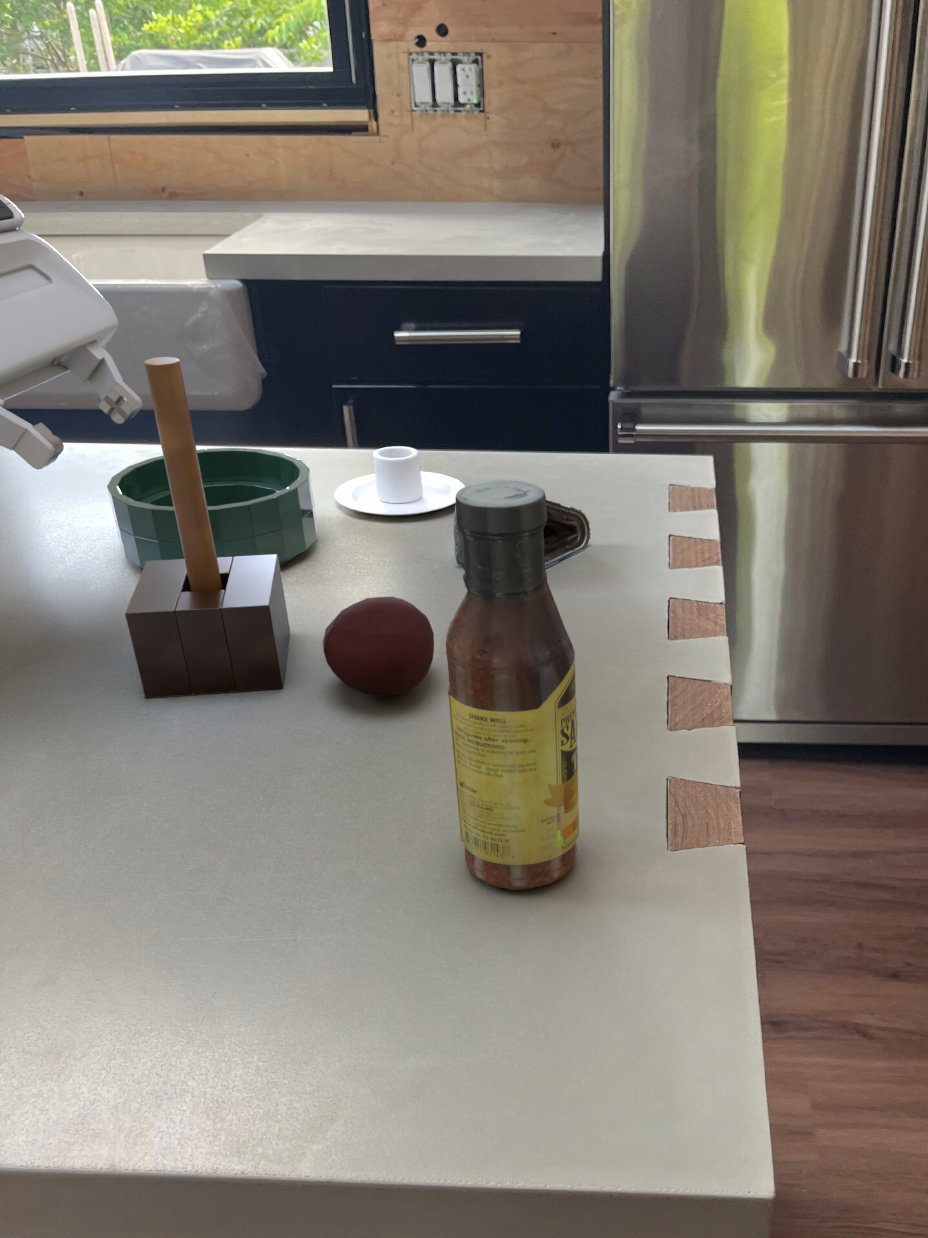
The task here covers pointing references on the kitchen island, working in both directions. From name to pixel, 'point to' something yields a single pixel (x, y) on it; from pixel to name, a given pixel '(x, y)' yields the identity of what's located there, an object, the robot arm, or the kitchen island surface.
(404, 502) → the candle holder
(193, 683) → the stick holder
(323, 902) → the kitchen island surface
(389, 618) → the potato
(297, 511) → the bowl
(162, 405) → the stirring stick
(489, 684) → the sauce bottle
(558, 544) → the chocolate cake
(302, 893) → the kitchen island surface
